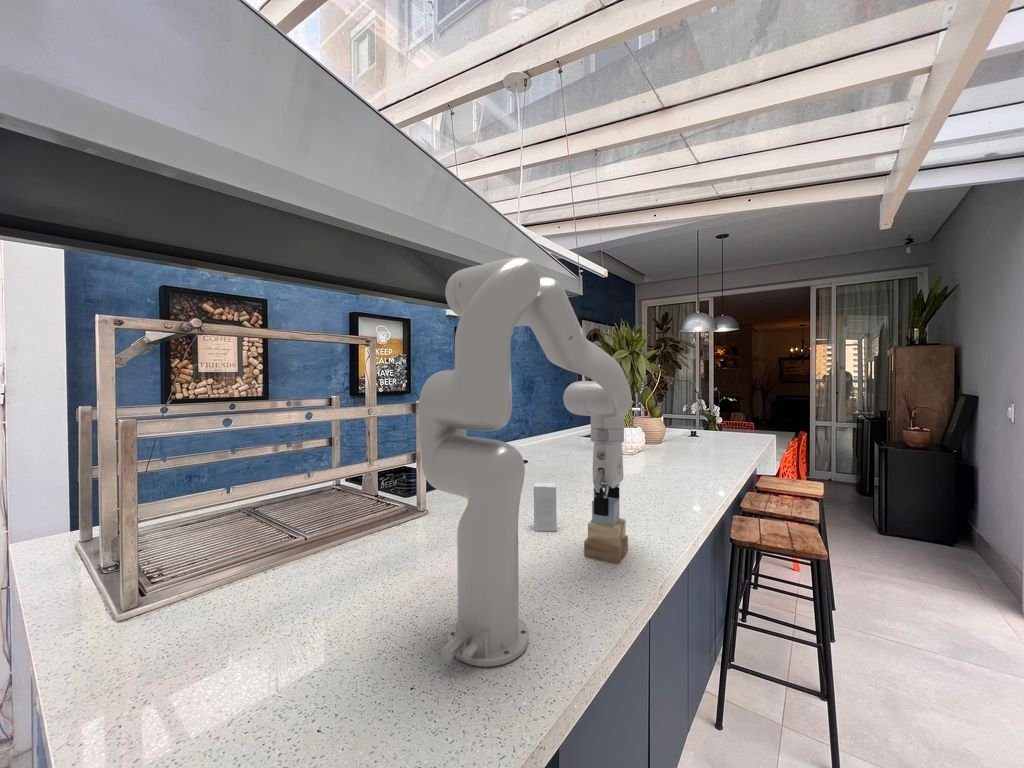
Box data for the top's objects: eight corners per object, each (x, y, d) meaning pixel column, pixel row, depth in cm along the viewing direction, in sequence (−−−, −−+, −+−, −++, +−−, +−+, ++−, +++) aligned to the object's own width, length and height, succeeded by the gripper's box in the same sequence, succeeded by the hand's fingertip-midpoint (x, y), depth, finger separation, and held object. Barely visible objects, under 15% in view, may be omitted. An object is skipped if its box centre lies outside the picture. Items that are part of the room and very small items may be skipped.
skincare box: (556, 526, 116) (556, 482, 115) (556, 531, 111) (556, 486, 111) (534, 525, 116) (534, 482, 116) (533, 531, 112) (533, 486, 112)
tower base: (619, 566, 93) (619, 548, 92) (584, 558, 96) (584, 541, 96) (627, 552, 100) (627, 535, 99) (594, 545, 103) (594, 529, 103)
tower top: (618, 546, 93) (618, 528, 93) (587, 541, 96) (587, 523, 96) (625, 535, 99) (625, 519, 99) (596, 531, 103) (596, 514, 102)
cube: (613, 526, 94) (613, 504, 94) (592, 523, 97) (592, 501, 97) (619, 519, 99) (619, 498, 99) (598, 516, 101) (598, 495, 101)
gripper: (614, 441, 88) (613, 523, 88) (631, 431, 103) (631, 501, 104) (579, 439, 91) (579, 517, 92) (601, 429, 107) (601, 496, 107)
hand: (607, 508), depth 98 cm, fingers open, 9 cm apart
